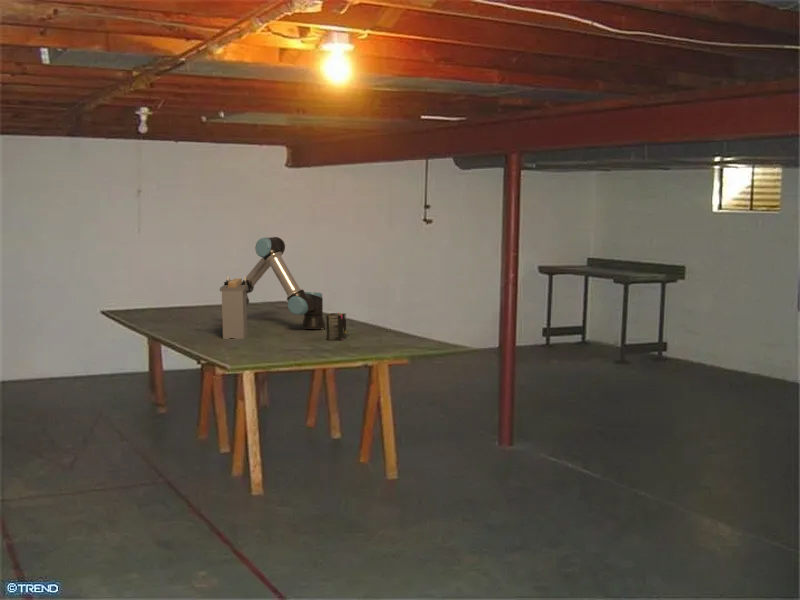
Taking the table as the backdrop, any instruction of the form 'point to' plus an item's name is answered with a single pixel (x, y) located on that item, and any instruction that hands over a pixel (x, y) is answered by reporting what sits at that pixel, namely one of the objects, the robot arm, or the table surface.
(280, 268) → the robot arm
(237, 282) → the birch strip
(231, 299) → the grey stand
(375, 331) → the table surface
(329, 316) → the tampon box
